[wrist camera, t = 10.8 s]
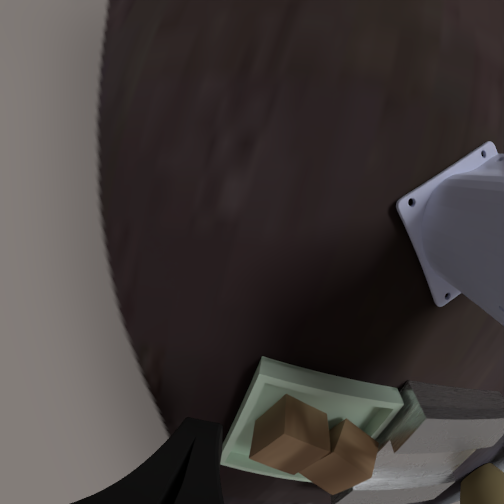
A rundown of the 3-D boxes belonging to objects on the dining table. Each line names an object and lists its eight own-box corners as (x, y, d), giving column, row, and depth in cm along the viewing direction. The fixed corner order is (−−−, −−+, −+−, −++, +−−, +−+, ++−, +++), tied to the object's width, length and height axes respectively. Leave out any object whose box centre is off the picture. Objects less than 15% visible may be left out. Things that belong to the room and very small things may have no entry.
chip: (379, 443, 17) (371, 477, 13) (344, 463, 18) (332, 495, 15) (346, 418, 18) (333, 451, 15) (313, 440, 20) (296, 471, 16)
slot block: (498, 391, 17) (517, 416, 13) (425, 473, 21) (433, 499, 17) (407, 380, 18) (426, 418, 14) (329, 473, 22) (331, 507, 17)
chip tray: (397, 387, 18) (404, 404, 16) (328, 469, 21) (330, 483, 19) (261, 356, 19) (259, 373, 17) (220, 447, 22) (216, 463, 20)
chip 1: (331, 452, 15) (284, 433, 15) (293, 475, 16) (248, 458, 16) (326, 413, 19) (286, 393, 19) (294, 438, 20) (255, 420, 20)
